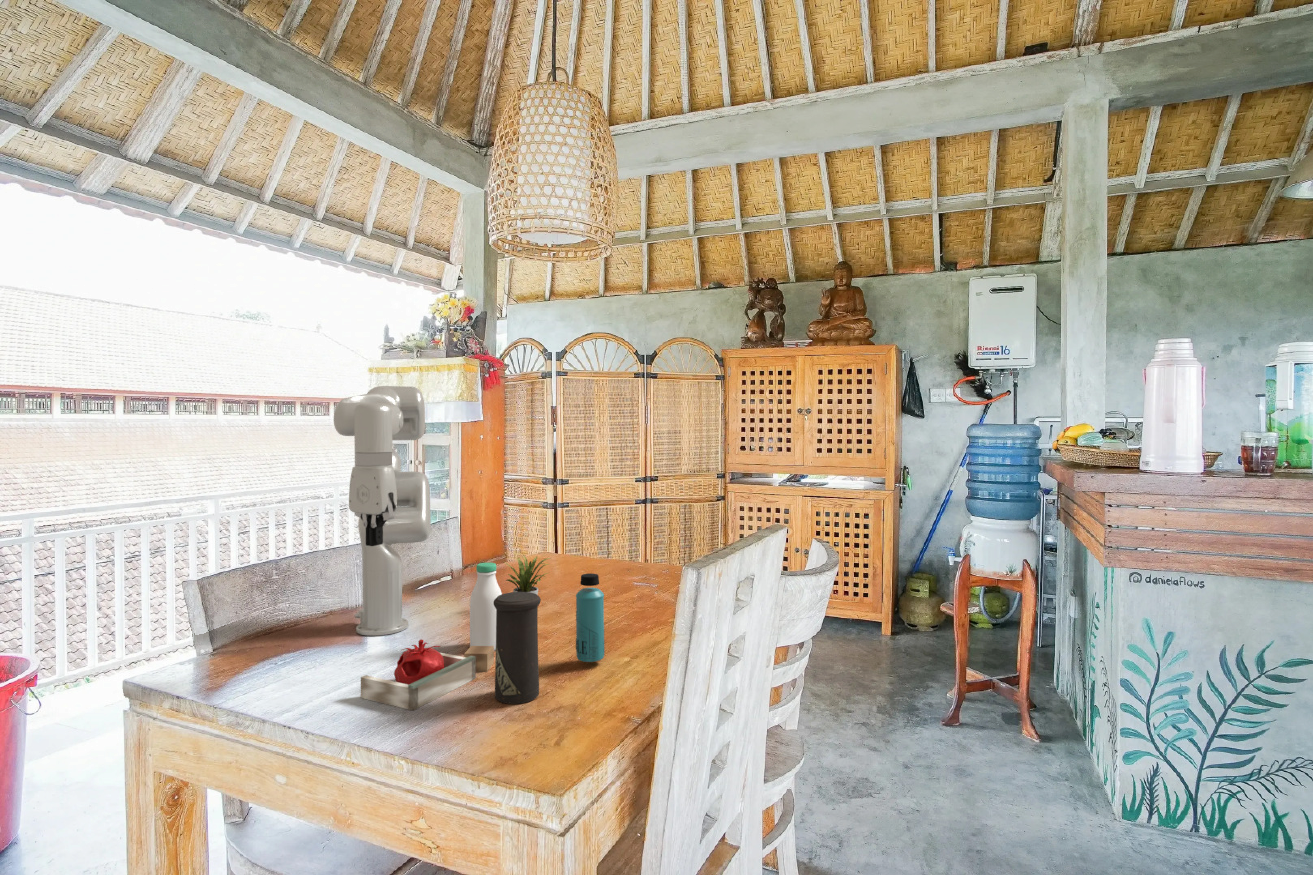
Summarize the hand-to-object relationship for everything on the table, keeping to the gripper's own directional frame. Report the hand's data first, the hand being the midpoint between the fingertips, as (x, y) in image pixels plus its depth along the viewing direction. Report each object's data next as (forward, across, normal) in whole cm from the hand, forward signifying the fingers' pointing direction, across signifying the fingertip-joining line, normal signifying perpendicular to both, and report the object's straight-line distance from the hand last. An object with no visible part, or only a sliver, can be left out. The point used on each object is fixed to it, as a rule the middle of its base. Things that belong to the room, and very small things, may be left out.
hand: (374, 544), depth 142 cm
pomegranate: (+27, +16, -3) cm, 31 cm away
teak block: (+27, +20, +10) cm, 35 cm away
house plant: (+28, +4, +51) cm, 58 cm away
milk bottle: (+27, +13, +21) cm, 37 cm away
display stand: (+27, +18, -4) cm, 32 cm away
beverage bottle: (+27, +41, +23) cm, 54 cm away
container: (+27, +38, +2) cm, 46 cm away
